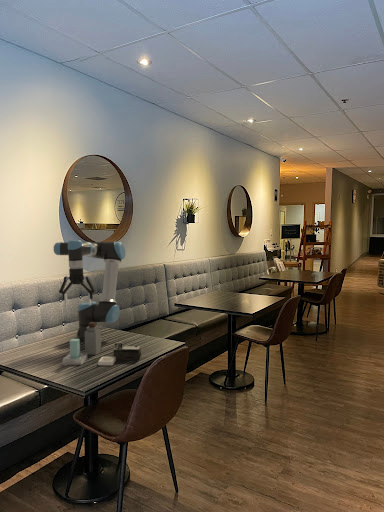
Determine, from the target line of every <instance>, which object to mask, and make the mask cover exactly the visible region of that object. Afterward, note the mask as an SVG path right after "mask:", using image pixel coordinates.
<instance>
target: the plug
mask: <svg viewBox="0 0 384 512" xmlns="http://www.w3.org/2000/svg"><path fill="white" fill-rule="evenodd" d="M80 342H81V340H80V339H77V338H71V339H70V340H69V353H70V358H79V357H80V352H81V349H80V348H81V345H80Z"/></svg>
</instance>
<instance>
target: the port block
mask: <svg viewBox="0 0 384 512" xmlns="http://www.w3.org/2000/svg"><path fill="white" fill-rule="evenodd" d="M87 360H88V354H87V353H85V352H82V353H80V357H79V358H70V352H69V353H68V354H67V355H66V356H65V357H63V358H62V366H69V365H70V366H72V365H73V366H74V365H75V366H77V365H78V366H79V365H80V366H81V365H83V364H84V363H85V362H86V361H87Z"/></svg>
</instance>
